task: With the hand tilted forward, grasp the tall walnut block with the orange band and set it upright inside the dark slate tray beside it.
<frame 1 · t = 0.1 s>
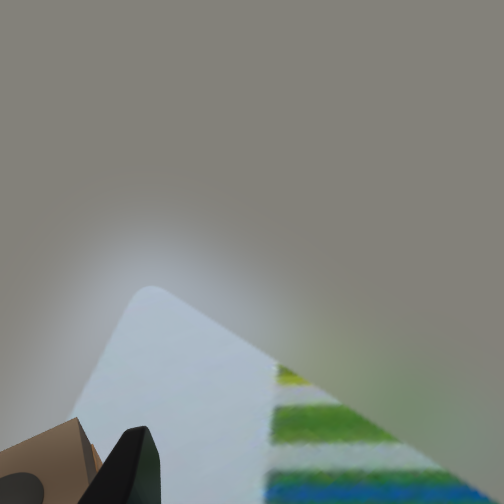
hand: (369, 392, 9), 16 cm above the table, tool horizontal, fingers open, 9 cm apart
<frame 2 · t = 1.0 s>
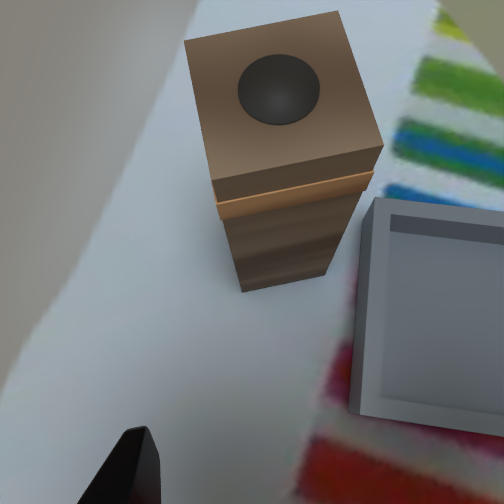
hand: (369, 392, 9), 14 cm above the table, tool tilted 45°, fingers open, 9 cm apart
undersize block: (274, 244, 24), on the table
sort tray: (455, 323, 23), on the table
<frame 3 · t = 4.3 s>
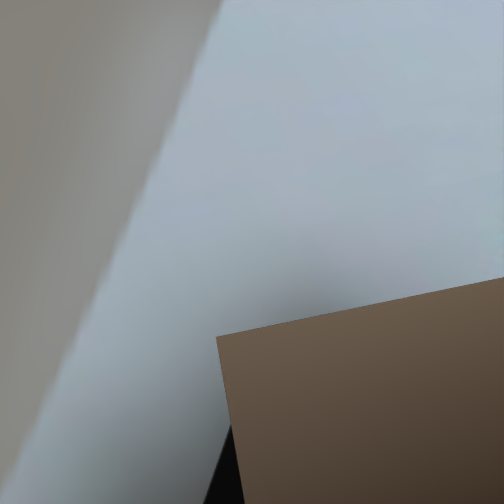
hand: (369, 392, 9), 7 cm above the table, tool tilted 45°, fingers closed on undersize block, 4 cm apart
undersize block: (338, 435, 15), on the table, touching gripper
when the fingers open (9 cm above the table, at t = 8.3 s): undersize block drops 2 cm, resting on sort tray.
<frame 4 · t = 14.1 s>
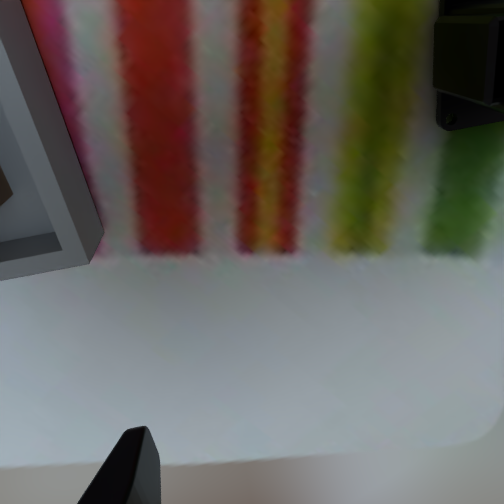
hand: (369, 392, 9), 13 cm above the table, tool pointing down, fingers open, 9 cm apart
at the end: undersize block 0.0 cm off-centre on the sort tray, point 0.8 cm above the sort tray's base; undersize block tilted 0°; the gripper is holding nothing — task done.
